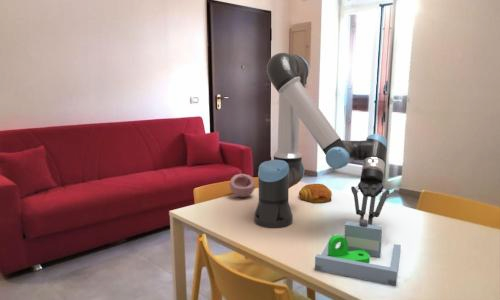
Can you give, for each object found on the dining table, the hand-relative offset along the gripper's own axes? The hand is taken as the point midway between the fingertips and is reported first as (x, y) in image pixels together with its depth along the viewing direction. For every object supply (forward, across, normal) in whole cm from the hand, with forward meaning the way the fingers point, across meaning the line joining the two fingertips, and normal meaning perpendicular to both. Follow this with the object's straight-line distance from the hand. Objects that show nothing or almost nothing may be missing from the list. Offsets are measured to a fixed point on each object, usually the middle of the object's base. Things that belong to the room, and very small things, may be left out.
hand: (364, 234), depth 120 cm
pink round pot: (-22, -61, +30) cm, 71 cm away
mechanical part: (+11, -2, -3) cm, 12 cm away
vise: (+9, 0, -2) cm, 9 cm away
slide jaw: (+6, 0, +2) cm, 6 cm away
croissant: (-29, -28, +37) cm, 55 cm away
